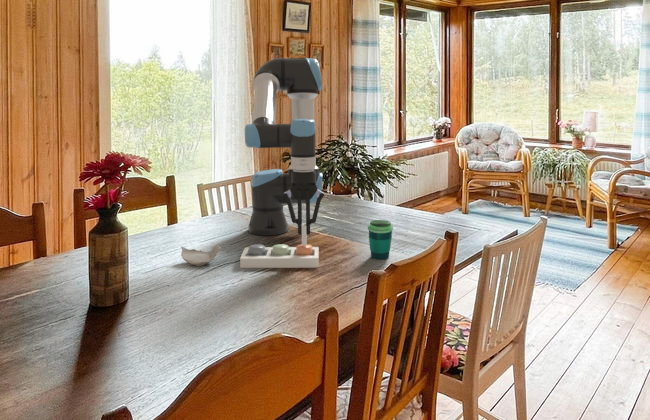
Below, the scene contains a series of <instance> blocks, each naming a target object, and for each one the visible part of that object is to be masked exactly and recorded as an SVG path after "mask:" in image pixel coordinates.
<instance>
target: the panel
mask: <svg viewBox="0 0 650 420" xmlns="http://www.w3.org/2000/svg"><path fill="white" fill-rule="evenodd" d="M288 250H289V256H273V246H265V256H249V246H247V247H246V246H245V247H244V248H243V251H242V253H241V255H240V258H239V263H240V264H239V265H240V267H239V268H240V269H257V268H258V269H270V268H271V269H272V268H273V269H276V268H277V269H278V268H279V269H280V268H281V269H282V268H283V269H284V268H286V269H287V268H288V269H289V268H290V269H291V268H292V269H293V268H294V269H295V268H297V269H298V268H299V269H300V268H302V269H303V268H304V269H305V268H306V269H307V268H309V269H310V268H311V269H312V268H319V265H320V264H319V262H320V260H319V258H320V257H319V254H320V253H319V251H320V250H319V246H312V256H296V246H288Z"/></svg>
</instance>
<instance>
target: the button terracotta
mask: <svg viewBox="0 0 650 420" xmlns="http://www.w3.org/2000/svg"><path fill="white" fill-rule="evenodd" d="M295 247H296V256H312V247H313V246H312V244H307V246H302V243H300V244H297V245H296V246H295Z"/></svg>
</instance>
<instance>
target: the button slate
mask: <svg viewBox="0 0 650 420" xmlns="http://www.w3.org/2000/svg"><path fill="white" fill-rule="evenodd" d="M248 247H249V256H265V247H266V246H265V245H264V244H261V243H258V244H251V245H249V246H248Z"/></svg>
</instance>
